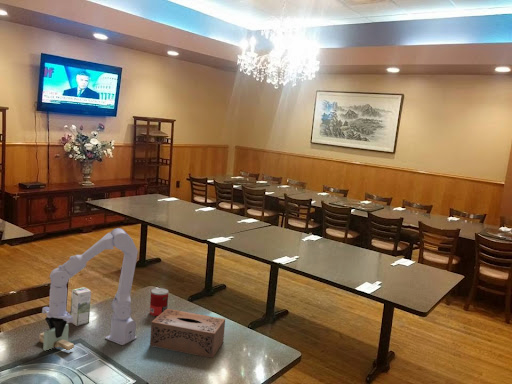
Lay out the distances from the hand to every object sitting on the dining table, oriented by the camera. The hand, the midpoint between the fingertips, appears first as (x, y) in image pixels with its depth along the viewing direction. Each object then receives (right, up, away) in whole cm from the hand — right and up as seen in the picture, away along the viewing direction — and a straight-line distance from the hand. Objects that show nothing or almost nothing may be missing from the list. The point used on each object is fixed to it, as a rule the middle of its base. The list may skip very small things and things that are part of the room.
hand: (56, 335), depth 157 cm
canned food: (+29, -3, +38) cm, 48 cm away
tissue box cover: (+47, -8, +12) cm, 49 cm away
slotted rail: (0, -4, +1) cm, 4 cm away
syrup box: (0, -2, +22) cm, 22 cm away
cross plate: (0, -4, 0) cm, 4 cm away
